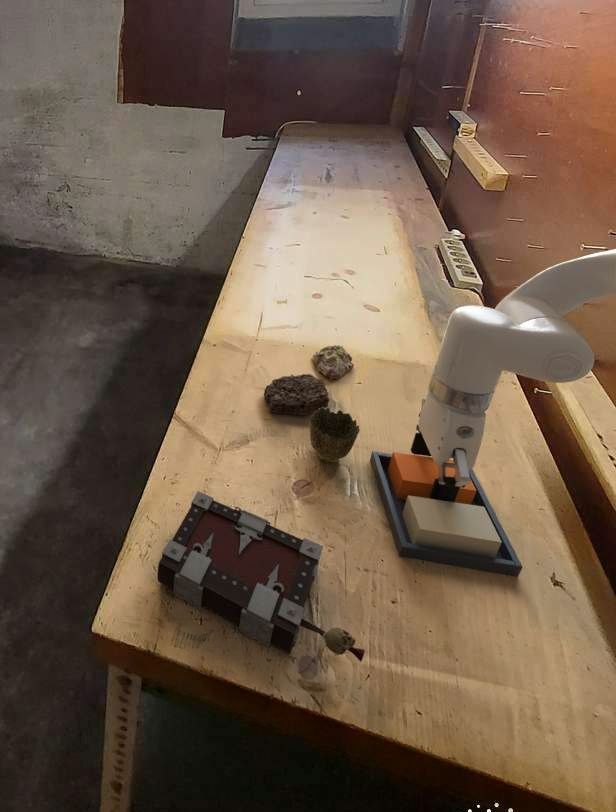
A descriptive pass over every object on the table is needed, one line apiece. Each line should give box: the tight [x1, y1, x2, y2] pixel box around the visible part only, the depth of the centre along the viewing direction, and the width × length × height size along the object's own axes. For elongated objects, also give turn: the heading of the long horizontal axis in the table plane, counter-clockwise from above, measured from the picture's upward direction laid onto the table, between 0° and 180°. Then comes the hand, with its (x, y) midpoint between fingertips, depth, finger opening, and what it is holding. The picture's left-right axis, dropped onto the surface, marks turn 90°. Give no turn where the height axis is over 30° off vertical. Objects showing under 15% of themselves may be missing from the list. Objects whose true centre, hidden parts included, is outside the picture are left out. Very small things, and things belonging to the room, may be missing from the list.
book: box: [157, 490, 366, 663], centre depth 74 cm, size 15×25×5 cm, turn 56°
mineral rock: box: [312, 344, 355, 380], centre depth 119 cm, size 11×4×8 cm
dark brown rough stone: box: [263, 373, 331, 416], centre depth 108 cm, size 12×10×5 cm
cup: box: [309, 407, 360, 464], centre depth 95 cm, size 8×7×8 cm
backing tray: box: [369, 451, 523, 578], centre depth 85 cm, size 15×19×3 cm
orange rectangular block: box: [388, 451, 476, 505], centre depth 88 cm, size 10×6×4 cm, turn 76°
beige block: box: [402, 495, 502, 558], centre depth 80 cm, size 10×6×4 cm, turn 76°
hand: (430, 476), depth 88 cm, fingers open, 9 cm apart
